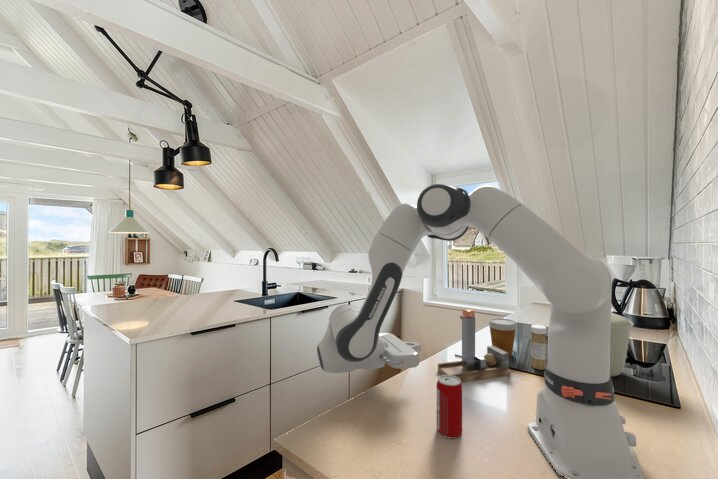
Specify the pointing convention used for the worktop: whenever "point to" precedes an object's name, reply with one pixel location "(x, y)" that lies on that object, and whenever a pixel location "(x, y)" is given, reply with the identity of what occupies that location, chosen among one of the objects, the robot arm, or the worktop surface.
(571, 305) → the robot arm
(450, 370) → the cracker bench
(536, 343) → the sprinkles bottle
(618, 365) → the canister
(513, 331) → the disposable coffee cup
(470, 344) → the slider
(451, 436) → the soda can
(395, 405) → the worktop surface
